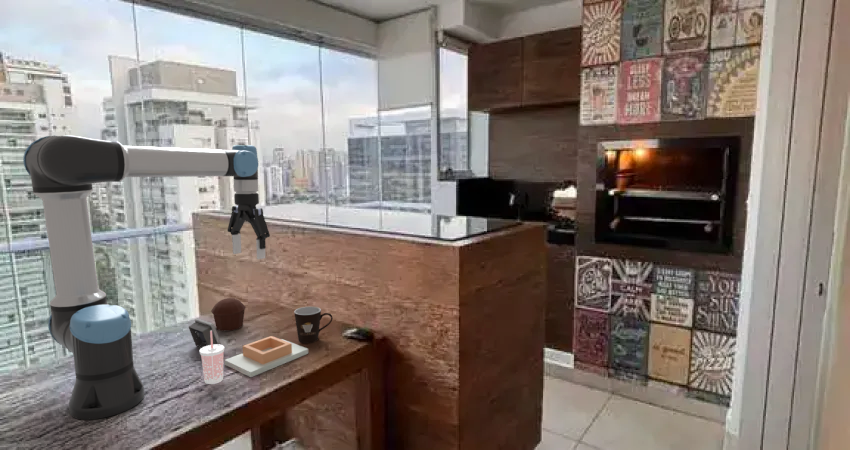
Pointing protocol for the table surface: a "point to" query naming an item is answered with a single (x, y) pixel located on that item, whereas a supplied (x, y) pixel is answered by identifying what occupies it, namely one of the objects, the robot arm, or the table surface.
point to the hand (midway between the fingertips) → (248, 256)
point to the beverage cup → (212, 362)
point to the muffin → (228, 314)
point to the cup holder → (265, 355)
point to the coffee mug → (309, 323)
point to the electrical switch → (203, 333)
